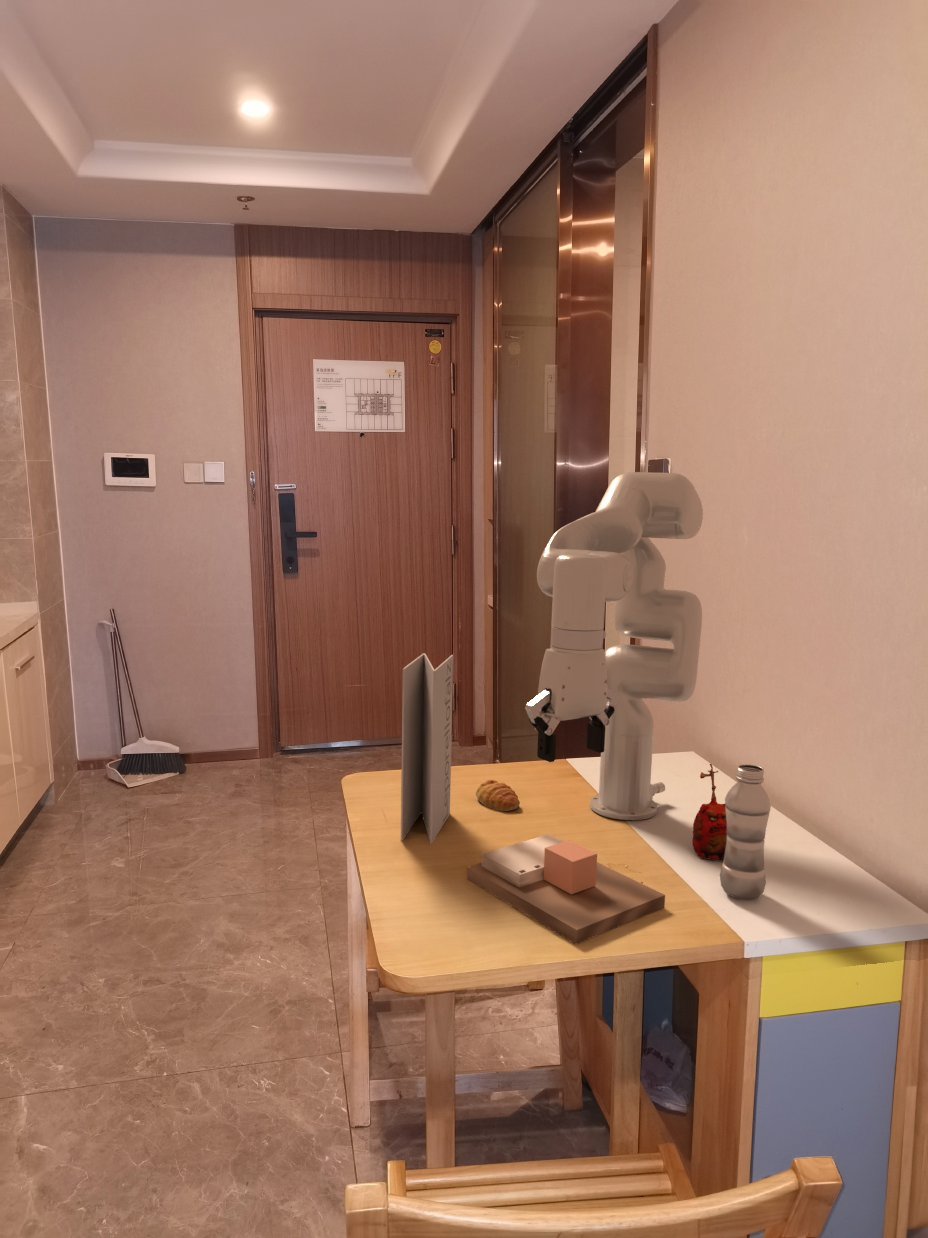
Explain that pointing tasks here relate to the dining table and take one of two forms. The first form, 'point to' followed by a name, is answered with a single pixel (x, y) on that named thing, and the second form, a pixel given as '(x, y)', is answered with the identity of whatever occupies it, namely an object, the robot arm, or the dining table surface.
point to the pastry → (497, 796)
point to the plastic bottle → (745, 835)
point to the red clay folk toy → (710, 827)
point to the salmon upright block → (570, 867)
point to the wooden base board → (562, 892)
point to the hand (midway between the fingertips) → (571, 755)
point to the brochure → (426, 744)
